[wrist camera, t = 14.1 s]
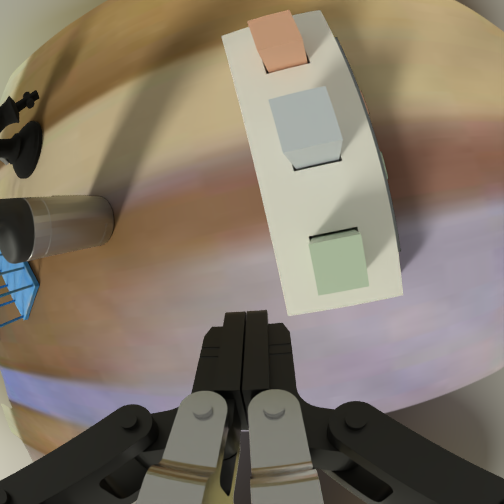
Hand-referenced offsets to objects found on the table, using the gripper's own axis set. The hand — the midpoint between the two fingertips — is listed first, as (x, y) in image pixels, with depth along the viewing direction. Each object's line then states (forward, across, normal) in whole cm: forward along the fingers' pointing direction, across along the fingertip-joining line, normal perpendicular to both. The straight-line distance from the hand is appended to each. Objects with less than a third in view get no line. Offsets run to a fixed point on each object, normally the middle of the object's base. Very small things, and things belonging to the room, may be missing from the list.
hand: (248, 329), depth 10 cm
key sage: (+24, -10, +9) cm, 27 cm away
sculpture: (+48, +54, -17) cm, 75 cm away
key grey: (+25, -7, -5) cm, 26 cm away
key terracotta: (+32, -6, -16) cm, 36 cm away
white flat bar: (+29, -8, -3) cm, 31 cm away
